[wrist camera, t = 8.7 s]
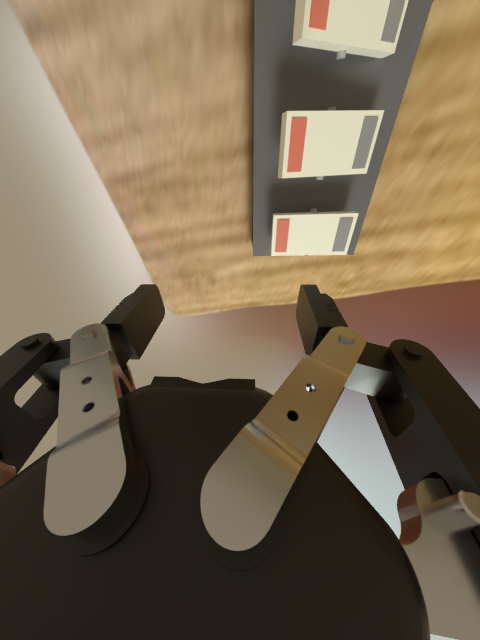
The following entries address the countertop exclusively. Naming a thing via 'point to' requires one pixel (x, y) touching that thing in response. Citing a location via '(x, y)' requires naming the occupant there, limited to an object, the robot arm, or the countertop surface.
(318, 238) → the rocker
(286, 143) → the rocker
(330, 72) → the rocker switch panel
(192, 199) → the countertop surface
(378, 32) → the rocker
